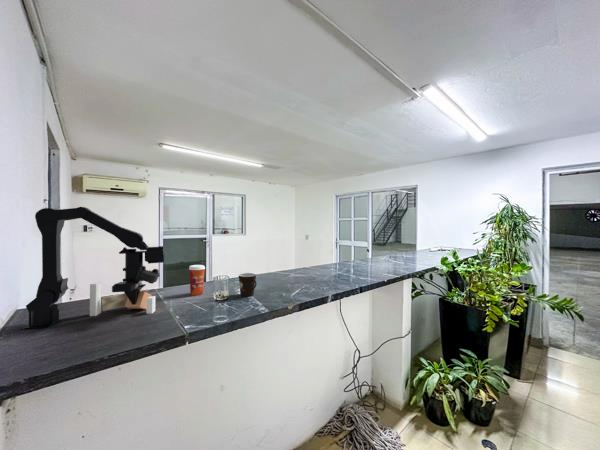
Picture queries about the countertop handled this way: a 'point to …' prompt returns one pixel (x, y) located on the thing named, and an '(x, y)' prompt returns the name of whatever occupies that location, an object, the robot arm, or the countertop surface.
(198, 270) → the paper cup
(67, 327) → the countertop surface
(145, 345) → the countertop surface
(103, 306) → the gate
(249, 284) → the coffee mug
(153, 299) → the twin post hurdle
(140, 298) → the doorstop block
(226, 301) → the countertop surface
